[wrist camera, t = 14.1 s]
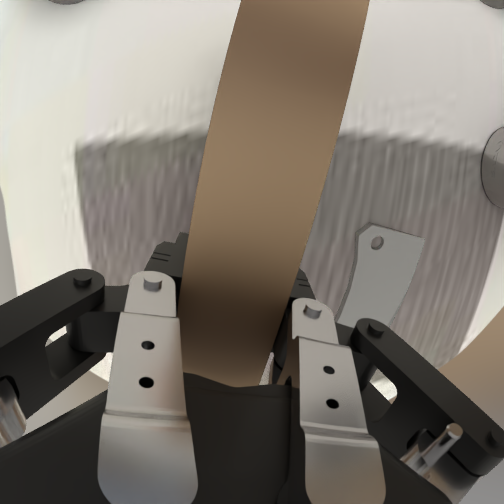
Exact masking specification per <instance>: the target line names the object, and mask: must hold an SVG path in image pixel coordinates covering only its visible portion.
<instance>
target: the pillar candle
mask: <svg viewBox="0 0 504 504" xmlns="http://www.w3.org/2000/svg"><path fill="white" fill-rule="evenodd" d="M49 1H51V2H54V3H58V4H74V3H78V2H81V1H83V0H49Z"/></svg>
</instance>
